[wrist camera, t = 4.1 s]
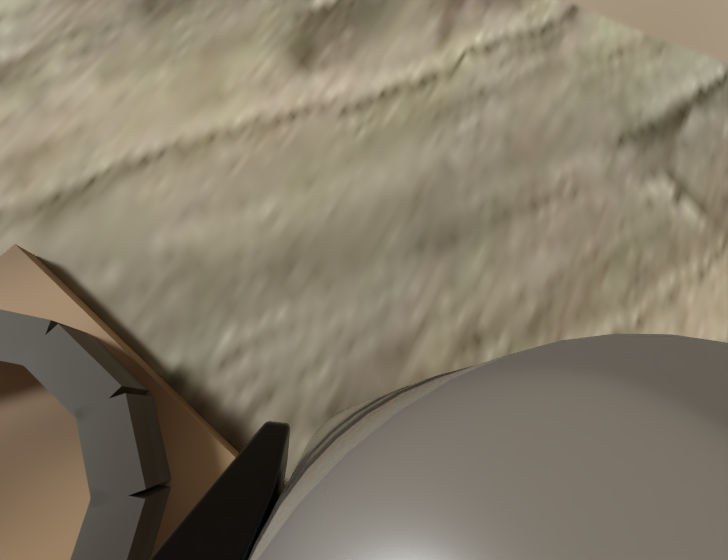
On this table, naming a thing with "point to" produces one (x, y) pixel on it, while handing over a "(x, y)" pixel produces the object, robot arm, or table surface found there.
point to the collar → (88, 431)
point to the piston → (524, 461)
